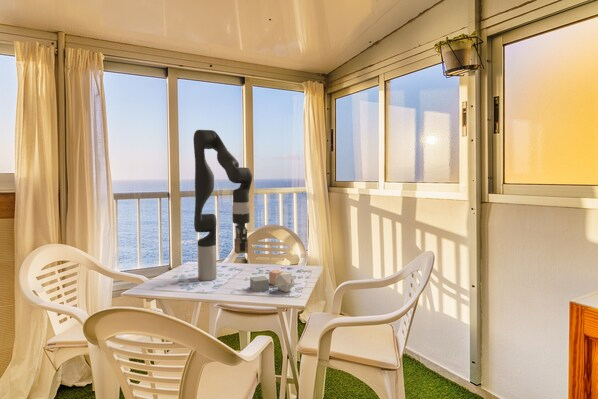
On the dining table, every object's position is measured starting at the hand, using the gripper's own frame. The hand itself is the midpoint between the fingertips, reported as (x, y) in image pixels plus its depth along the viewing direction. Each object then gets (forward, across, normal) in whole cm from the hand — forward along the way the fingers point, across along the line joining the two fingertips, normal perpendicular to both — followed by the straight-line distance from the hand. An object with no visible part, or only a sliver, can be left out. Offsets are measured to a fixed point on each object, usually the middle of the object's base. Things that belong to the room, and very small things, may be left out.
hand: (241, 249), depth 165 cm
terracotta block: (+19, -8, +19) cm, 28 cm away
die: (+20, +4, +19) cm, 28 cm away
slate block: (+20, -3, +9) cm, 22 cm away
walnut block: (+1, 0, 0) cm, 1 cm away
